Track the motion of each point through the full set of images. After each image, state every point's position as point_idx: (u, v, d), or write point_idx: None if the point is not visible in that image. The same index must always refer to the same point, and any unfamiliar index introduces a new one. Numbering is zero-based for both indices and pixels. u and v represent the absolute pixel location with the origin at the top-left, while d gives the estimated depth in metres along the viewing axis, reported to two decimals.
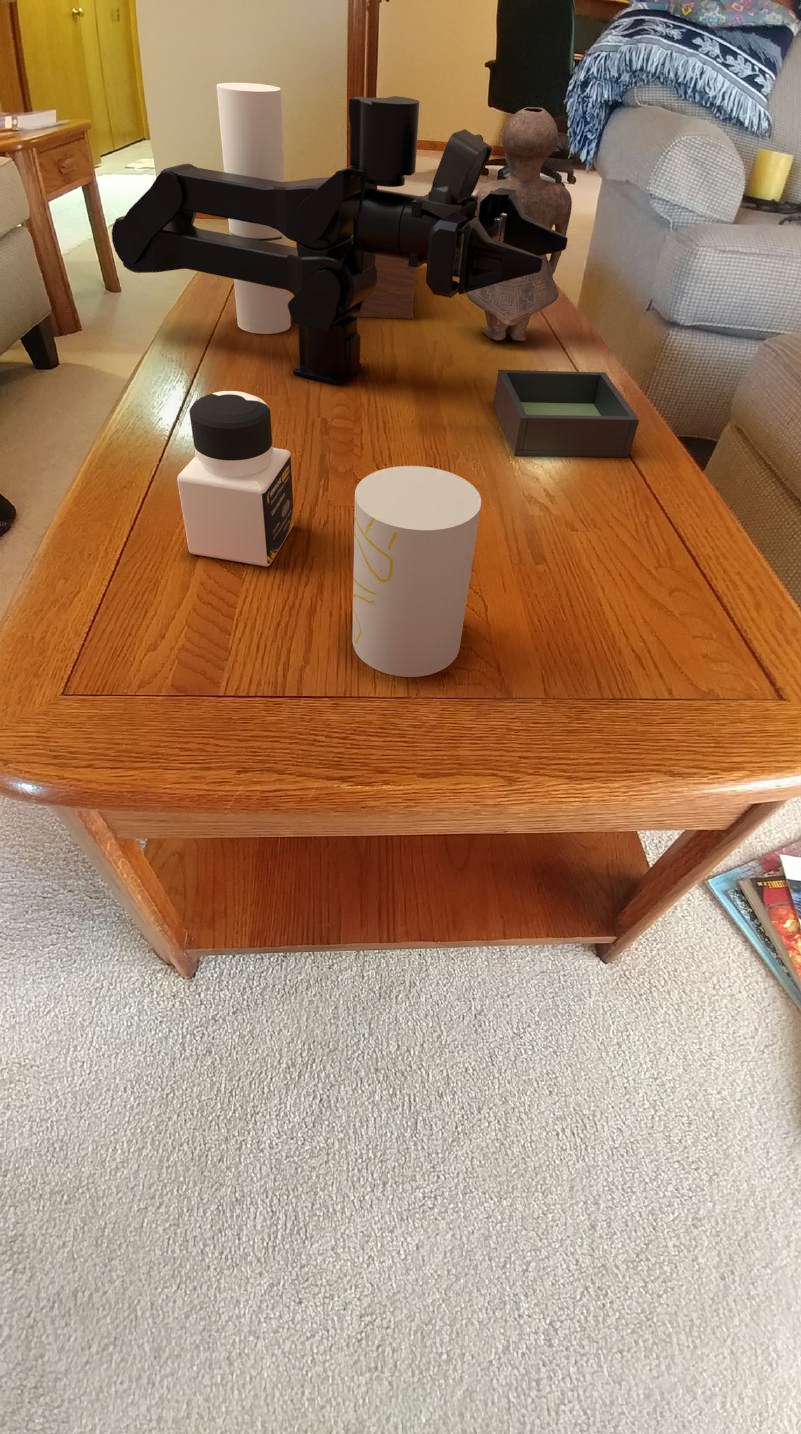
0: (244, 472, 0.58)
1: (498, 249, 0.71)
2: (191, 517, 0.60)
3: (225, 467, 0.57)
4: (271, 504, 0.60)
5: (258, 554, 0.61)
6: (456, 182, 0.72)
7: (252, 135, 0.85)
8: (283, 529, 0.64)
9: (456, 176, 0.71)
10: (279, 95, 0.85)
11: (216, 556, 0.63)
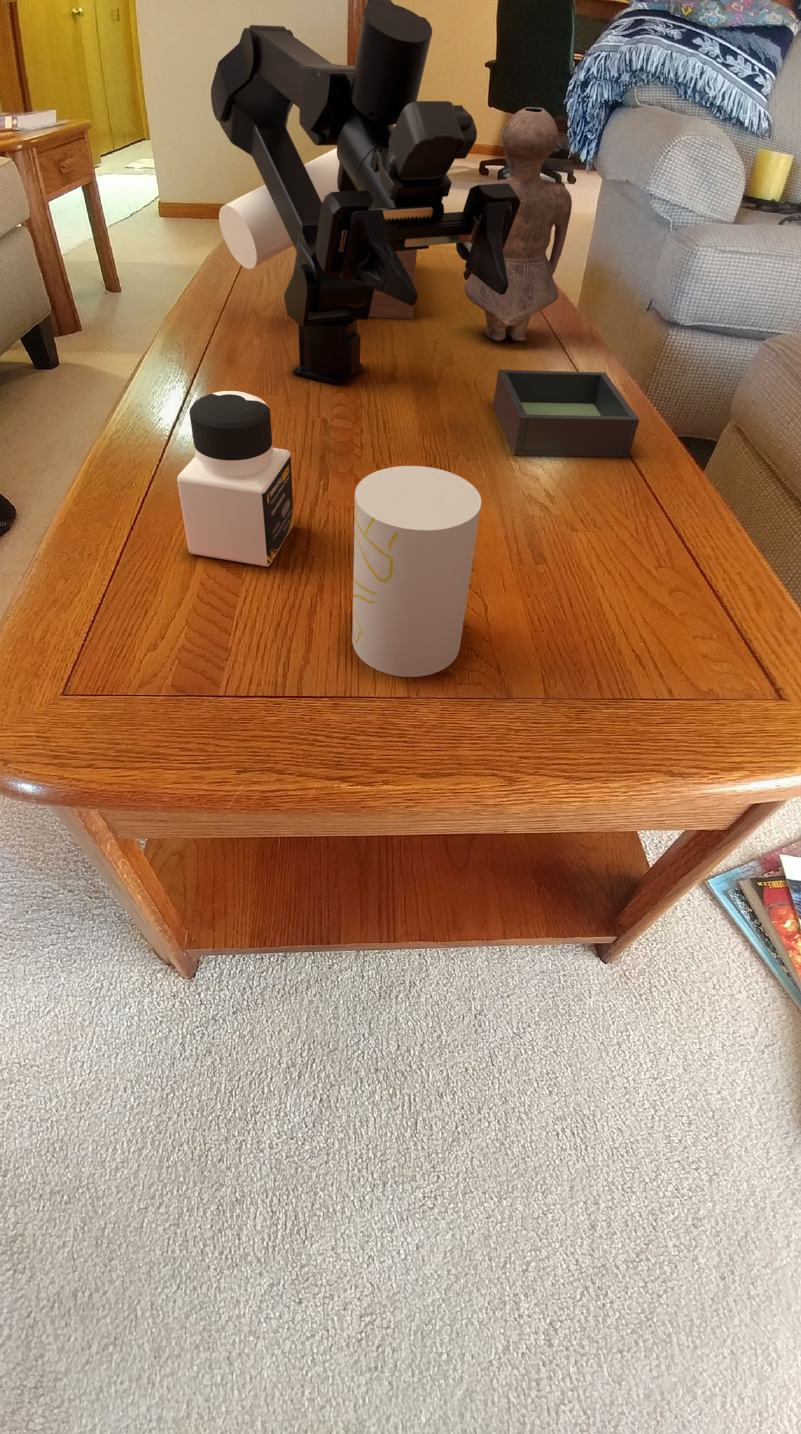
0: (244, 472, 0.58)
1: (382, 257, 0.63)
2: (191, 517, 0.60)
3: (225, 467, 0.57)
4: (271, 504, 0.60)
5: (258, 554, 0.61)
6: (400, 157, 0.62)
7: None
8: (283, 529, 0.64)
9: (401, 151, 0.62)
10: None
11: (216, 556, 0.63)
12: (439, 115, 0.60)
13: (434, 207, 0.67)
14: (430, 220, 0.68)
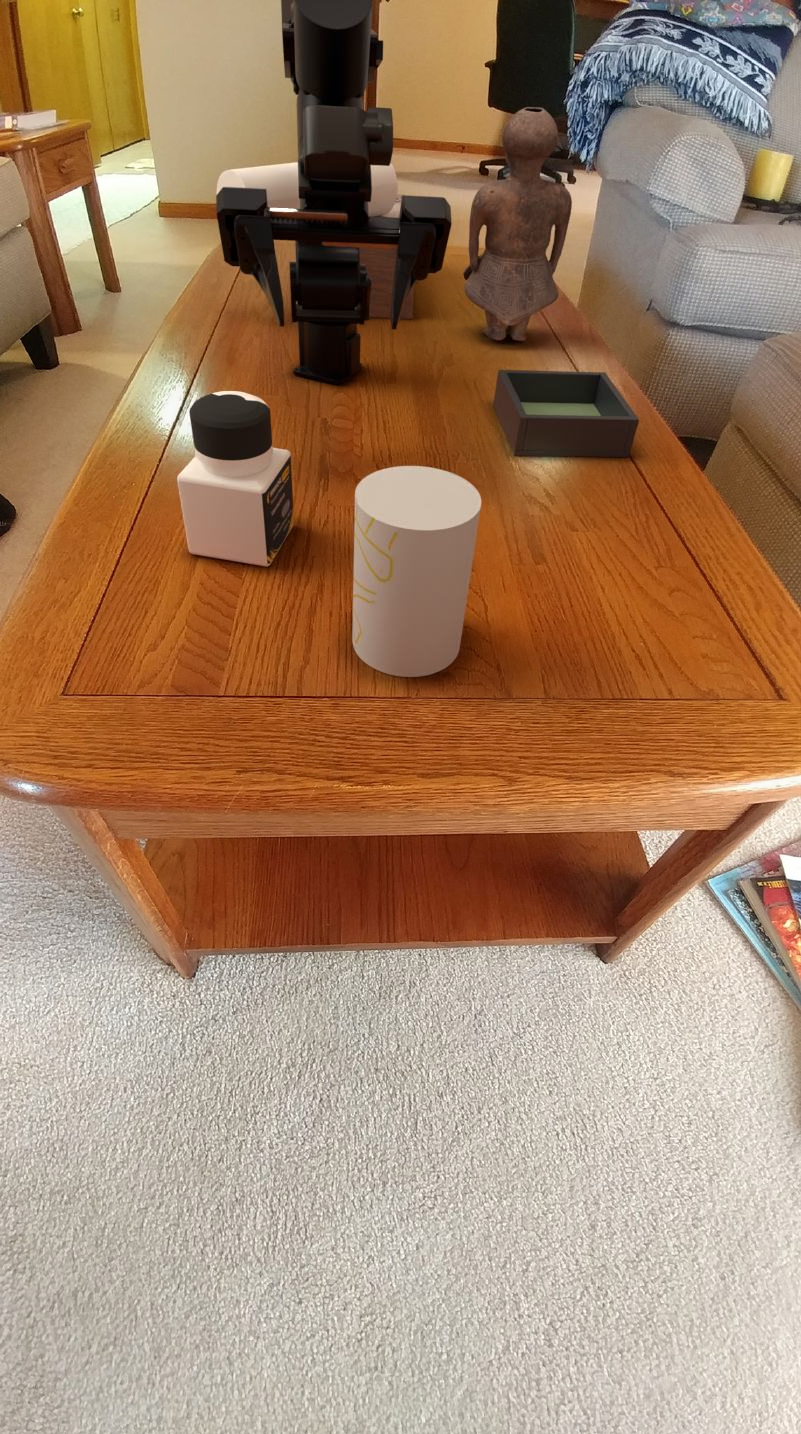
0: (244, 472, 0.58)
1: (262, 268, 0.60)
2: (191, 517, 0.60)
3: (225, 467, 0.57)
4: (271, 504, 0.60)
5: (258, 554, 0.61)
6: None
7: None
8: (283, 529, 0.64)
9: None
10: (395, 188, 1.04)
11: (216, 556, 0.63)
12: (339, 125, 0.55)
13: None
14: (358, 220, 0.63)
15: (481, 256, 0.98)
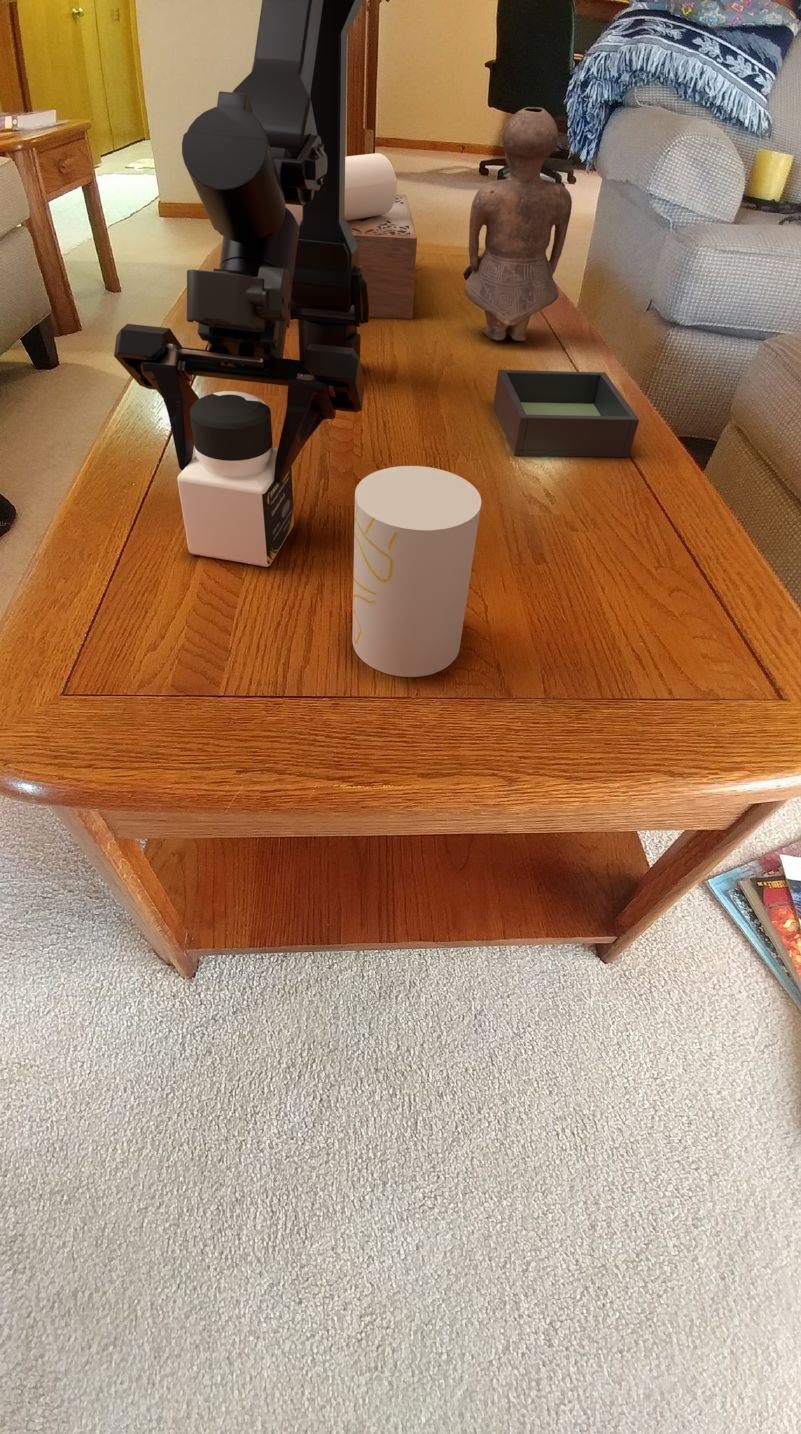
0: (244, 472, 0.58)
1: None
2: (191, 517, 0.60)
3: (225, 467, 0.57)
4: (271, 504, 0.60)
5: (258, 554, 0.61)
6: None
7: (363, 157, 1.01)
8: (283, 529, 0.64)
9: None
10: (394, 186, 1.04)
11: (216, 556, 0.62)
12: (220, 292, 0.51)
13: None
14: None
15: (481, 256, 0.98)
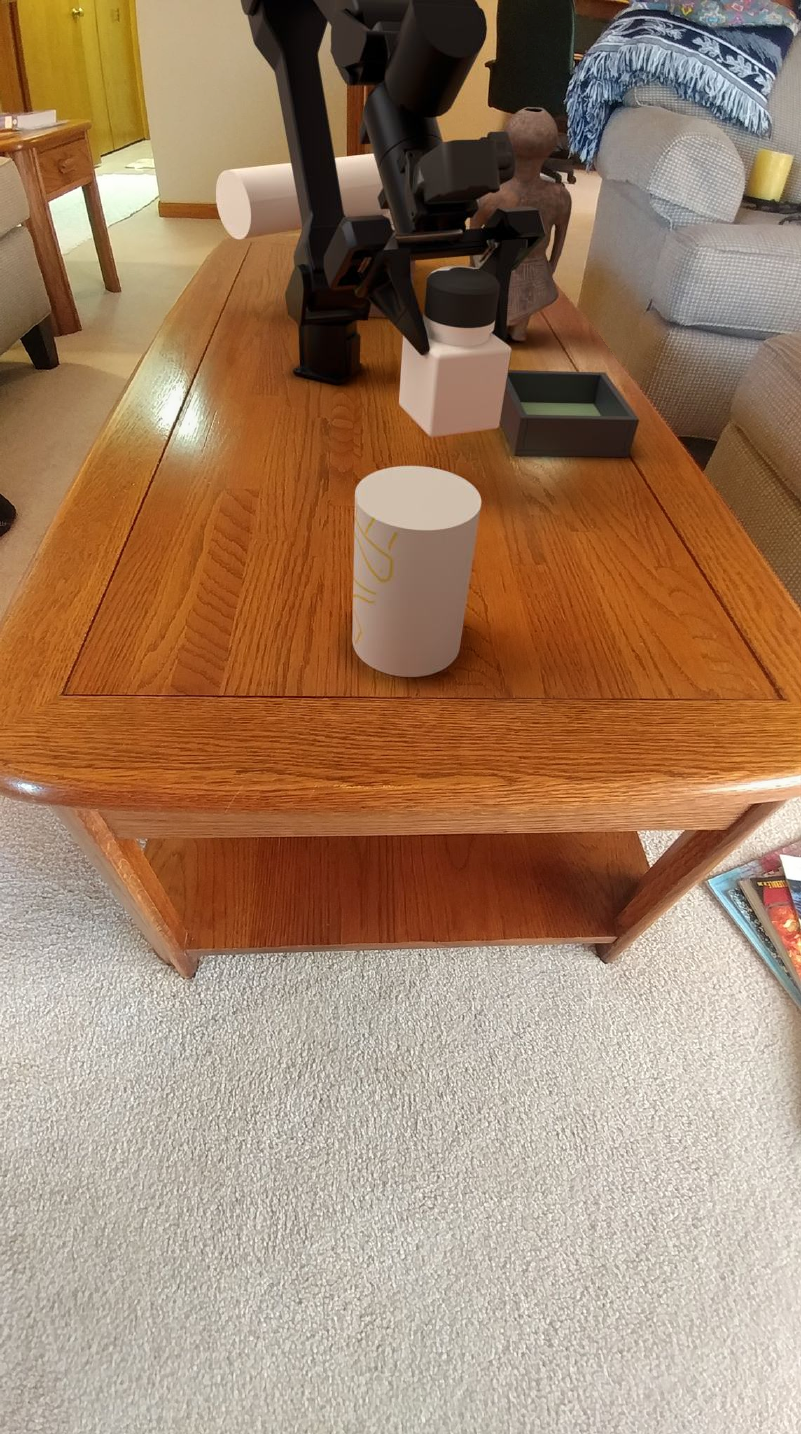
0: (486, 337, 0.63)
1: (401, 299, 0.61)
2: (442, 396, 0.64)
3: (479, 334, 0.62)
4: None
5: (494, 417, 0.67)
6: (429, 188, 0.58)
7: (363, 157, 1.01)
8: None
9: (432, 183, 0.57)
10: None
11: (455, 432, 0.67)
12: (478, 158, 0.56)
13: (456, 224, 0.63)
14: None
15: None
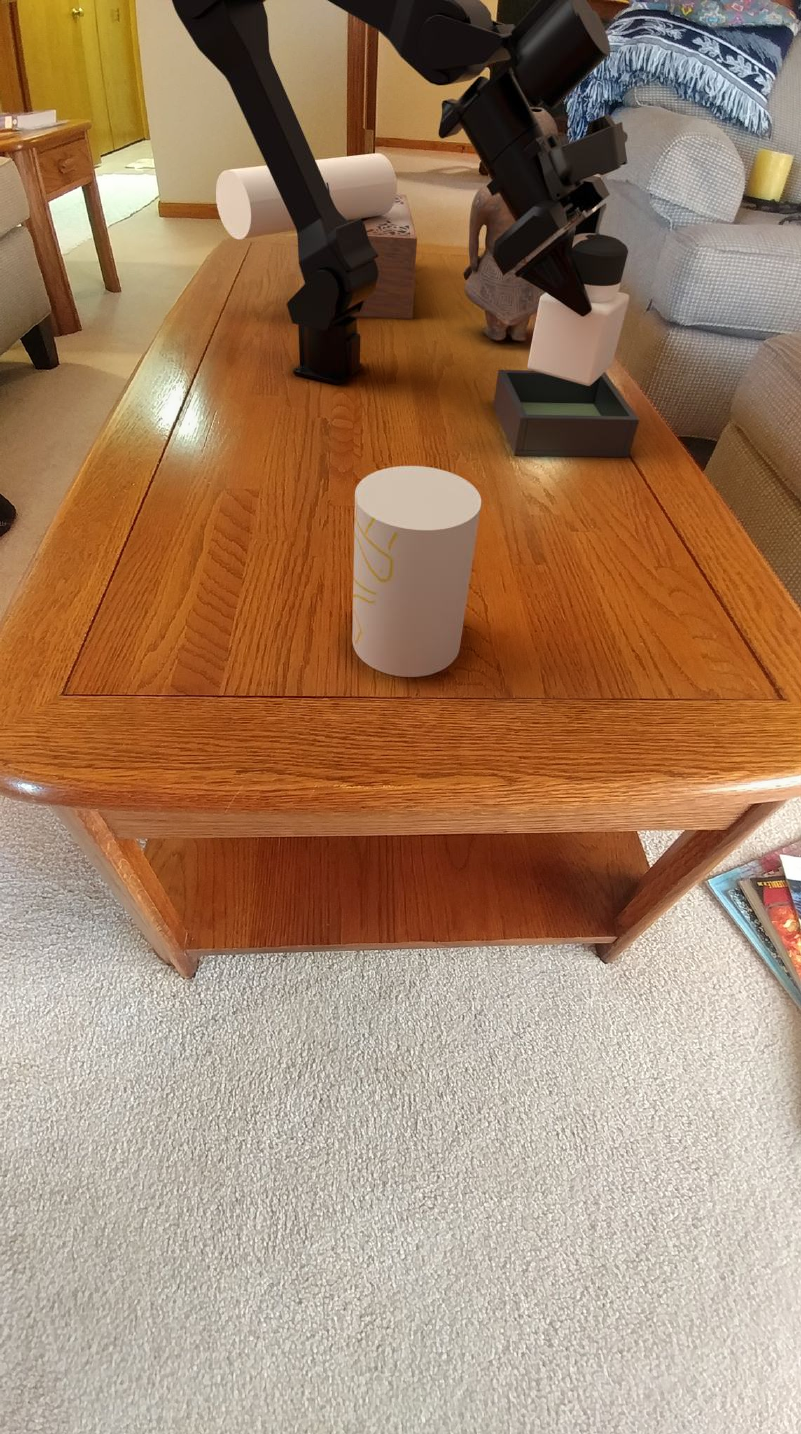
0: None
1: (570, 271, 0.69)
2: (602, 347, 0.74)
3: (618, 288, 0.73)
4: None
5: (612, 357, 0.80)
6: (581, 170, 0.66)
7: (363, 157, 1.01)
8: None
9: (585, 165, 0.66)
10: (394, 186, 1.04)
11: (598, 376, 0.78)
12: (620, 139, 0.66)
13: (560, 199, 0.72)
14: None
15: (481, 256, 0.98)
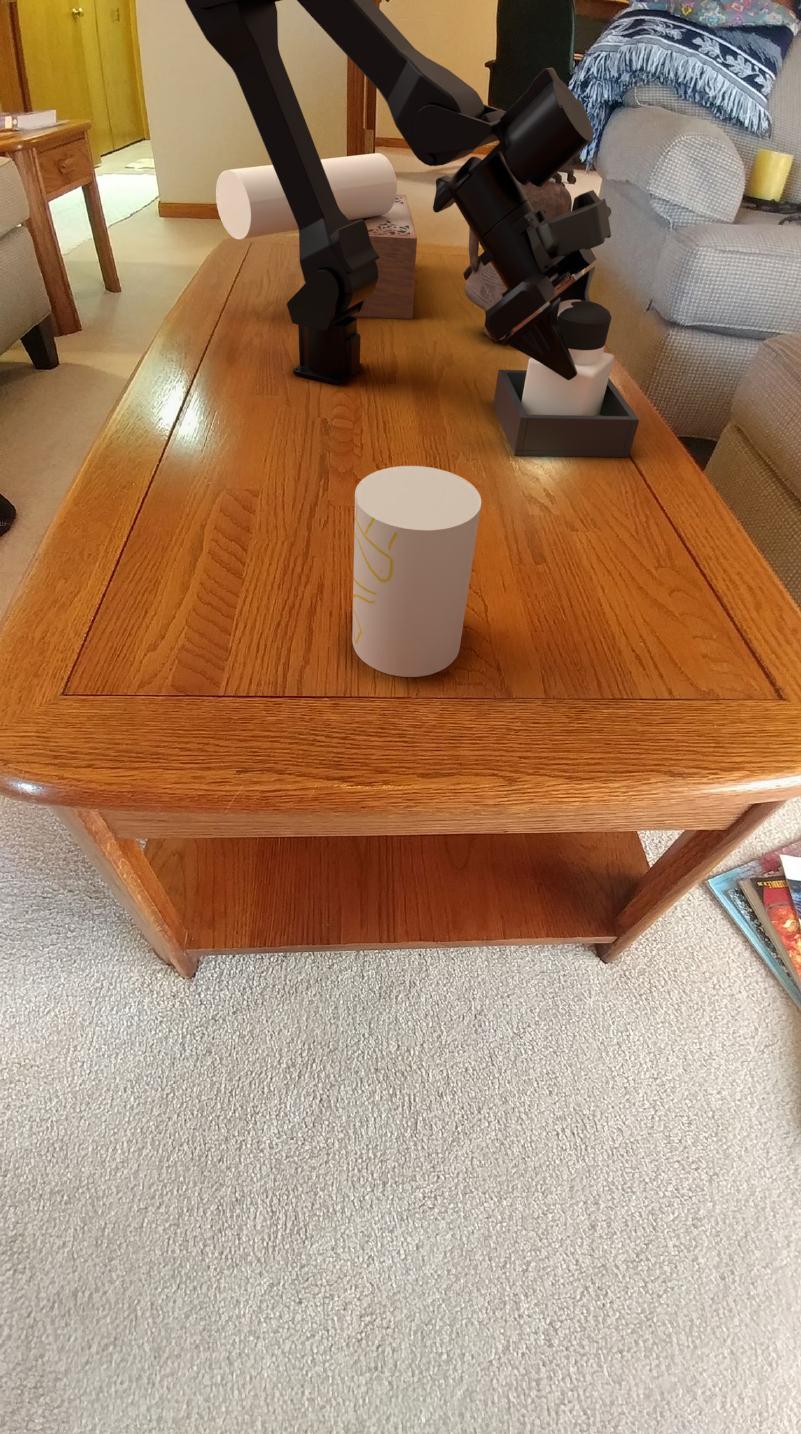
0: None
1: (555, 339, 0.73)
2: (588, 405, 0.79)
3: (603, 350, 0.77)
4: None
5: (599, 411, 0.84)
6: (567, 245, 0.71)
7: (363, 157, 1.01)
8: None
9: (571, 241, 0.70)
10: (394, 186, 1.04)
11: None
12: (604, 216, 0.70)
13: None
14: None
15: None
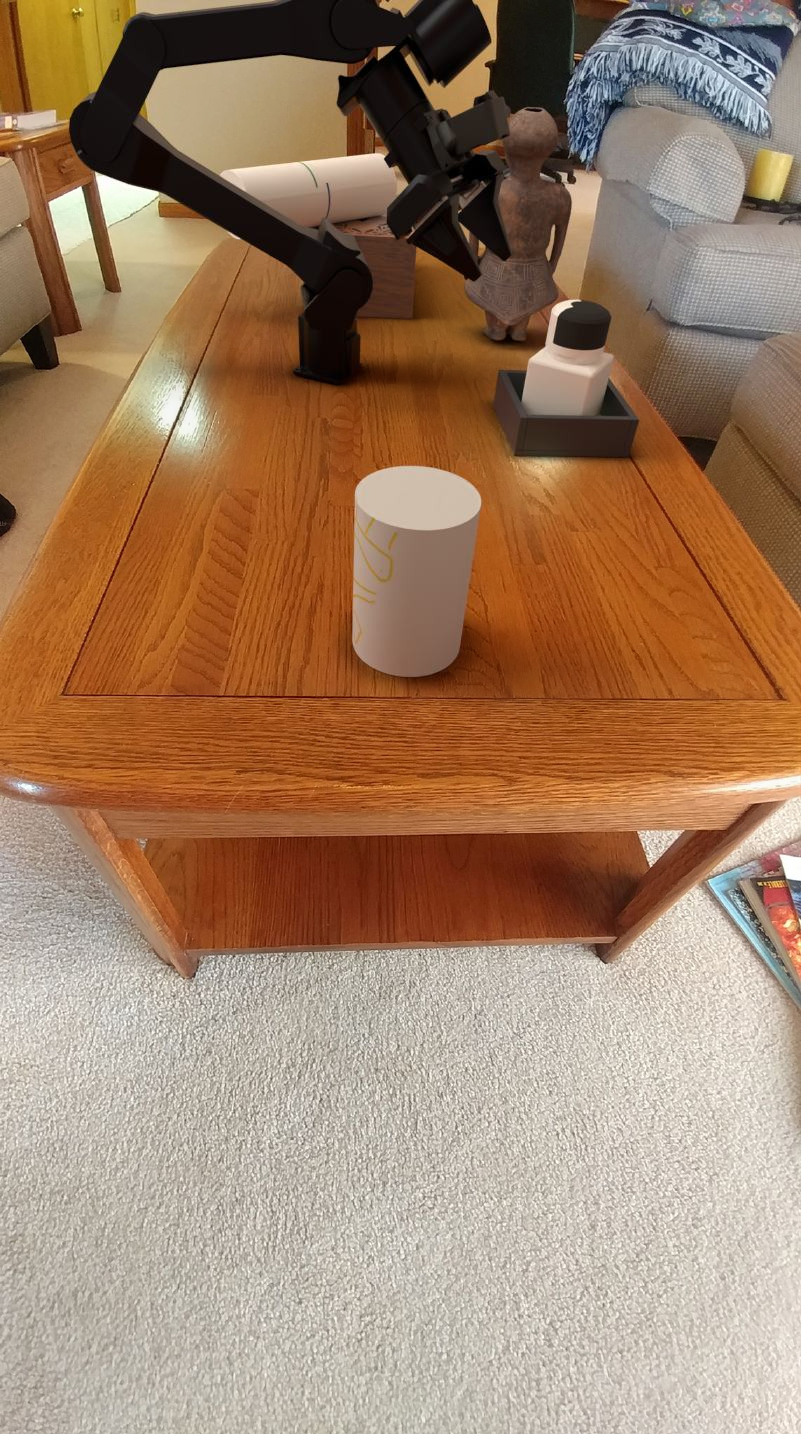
0: None
1: (457, 237, 0.74)
2: (588, 406, 0.79)
3: (603, 350, 0.77)
4: None
5: (599, 411, 0.84)
6: (465, 141, 0.72)
7: (363, 157, 1.01)
8: None
9: (468, 137, 0.72)
10: (394, 186, 1.04)
11: None
12: (500, 112, 0.72)
13: (454, 171, 0.78)
14: None
15: (481, 256, 0.98)
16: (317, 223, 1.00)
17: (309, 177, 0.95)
